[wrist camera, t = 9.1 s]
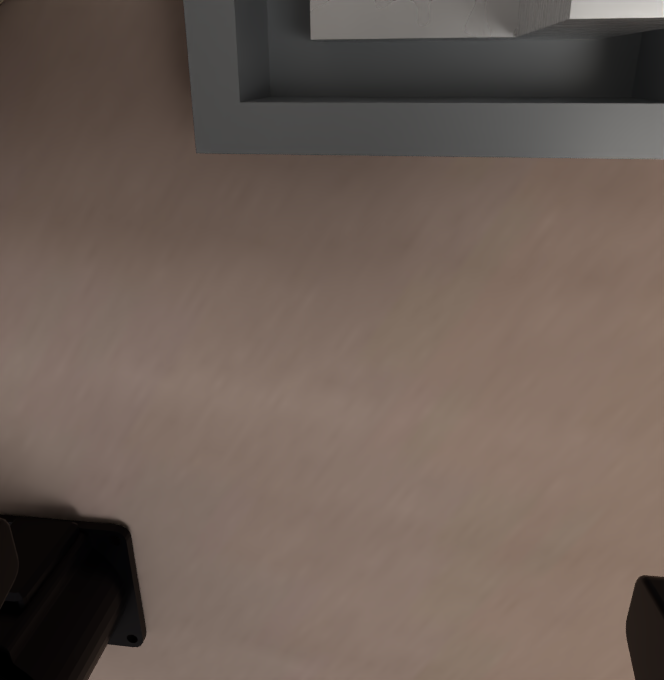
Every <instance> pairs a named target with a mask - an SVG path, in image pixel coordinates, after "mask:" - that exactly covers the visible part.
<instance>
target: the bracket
mask: <svg viewBox="0 0 664 680" xmlns="http://www.w3.org/2000/svg"><path fill="white" fill-rule="evenodd" d="M310 28H311V40H314V41H318V42H322V43H328V42H408V41H487V40H567V39H603V38H609V37H615V36H621V35H627V34H633V33H639V32H645V31H651V30H657V29H663V28H664V0H310Z"/></svg>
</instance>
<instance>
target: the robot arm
mask: <svg viewBox="0 0 664 680" xmlns="http://www.w3.org/2000/svg"><path fill="white" fill-rule="evenodd" d="M115 536H116V537H118V538H119V539H118V538H116V537H115ZM145 637H146V627H145V621H144V615H143V608H142V602H141V596H140V590H139V584H138V578H137V571H136V565H135V559H134V553H133V547H132V541H131V535H130V532H129V531H128V530H127V529H126V528H125V527H123V526H121V525H116V524H104V523H93V522H81V521H70V520H58V519H47V518H35V517H24V516H13V515H1V514H0V680H88V679H89V677H90V675H91V673H92V671H93V669H94V668H95V666H96V664H97V662H98V660H99V658H100V657H101V655H102V653H103V651H104V649H105V647H106V646H107V644H111V645H120V646H129V647H138V646H141V644H142V643H143V641H144V639H145ZM626 637H627V643H628V647H629V652H630V657H631V662H632V666H633V671H634V676H635V680H664V577H658V576H647V575H643V576H640V577H639V578H638V579H637V581H636V583H635V587H634V591H633V595H632V599H631V603H630V607H629V612H628V616H627V620H626Z"/></svg>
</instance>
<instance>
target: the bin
mask: <svg viewBox="0 0 664 680" xmlns="http://www.w3.org/2000/svg"><path fill="white" fill-rule="evenodd" d="M183 3H184V15H185V27H186V39H187V50H188V62H189V74H190V85H191V97H192V109H193V121H194V132H195V144H196V153H214V154H292V155H370V156H448V157H527V158H605V159H664V28H663V29H657V30H651V31H645V32H639V33H633V34H627V35H621V36H615V37H609V38H603V39H567V40H487V41H408V42H328V43H322V42H318V41H314V40H311V28H310V0H183Z"/></svg>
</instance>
